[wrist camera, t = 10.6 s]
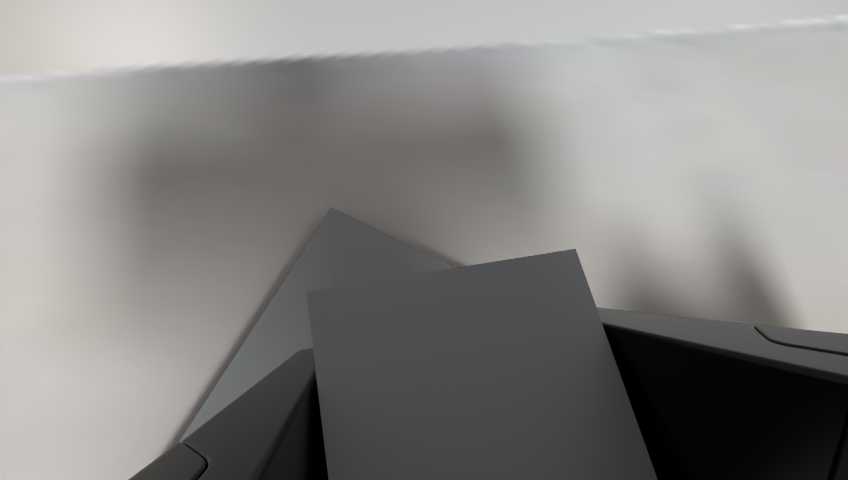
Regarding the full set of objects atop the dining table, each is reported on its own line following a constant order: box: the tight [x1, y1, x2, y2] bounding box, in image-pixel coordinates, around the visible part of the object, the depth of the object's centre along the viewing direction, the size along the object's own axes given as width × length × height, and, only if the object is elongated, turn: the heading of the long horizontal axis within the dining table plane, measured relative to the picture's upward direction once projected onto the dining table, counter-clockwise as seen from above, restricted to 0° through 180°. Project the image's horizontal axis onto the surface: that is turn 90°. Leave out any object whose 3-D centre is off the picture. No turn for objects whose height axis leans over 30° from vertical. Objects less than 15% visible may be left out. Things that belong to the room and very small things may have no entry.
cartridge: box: [306, 249, 658, 480], centre depth 10 cm, size 4×4×9 cm
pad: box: [178, 208, 455, 443], centre depth 18 cm, size 14×14×1 cm
